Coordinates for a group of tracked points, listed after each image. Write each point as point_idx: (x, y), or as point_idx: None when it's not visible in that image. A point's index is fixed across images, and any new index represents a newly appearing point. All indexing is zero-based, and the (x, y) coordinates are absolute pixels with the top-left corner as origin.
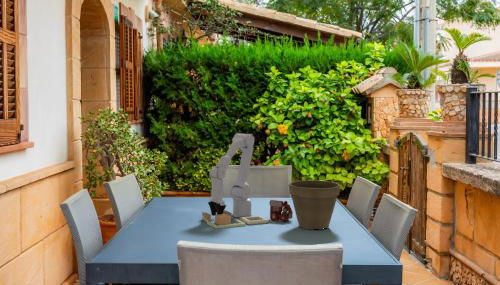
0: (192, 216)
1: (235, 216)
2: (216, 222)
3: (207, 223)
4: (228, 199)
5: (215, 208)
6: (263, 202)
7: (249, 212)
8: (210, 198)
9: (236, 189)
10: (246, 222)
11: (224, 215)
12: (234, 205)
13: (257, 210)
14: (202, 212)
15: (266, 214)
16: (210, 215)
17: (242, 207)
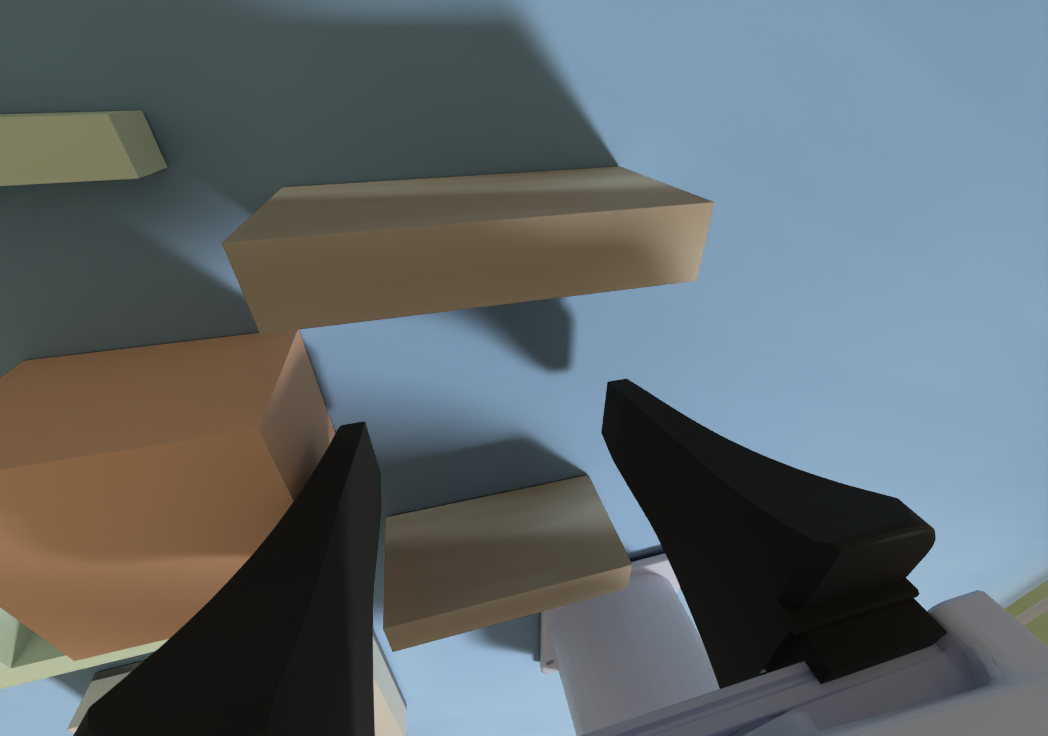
0: (938, 83)
1: None
2: (207, 347)
3: (87, 112)
4: (1036, 560)
5: (667, 523)
6: None
7: (564, 689)
8: (1024, 702)
9: None
10: None
11: (152, 581)
12: (656, 707)
13: None
14: (686, 201)
15: (556, 714)
16: (258, 309)
17: (579, 732)
